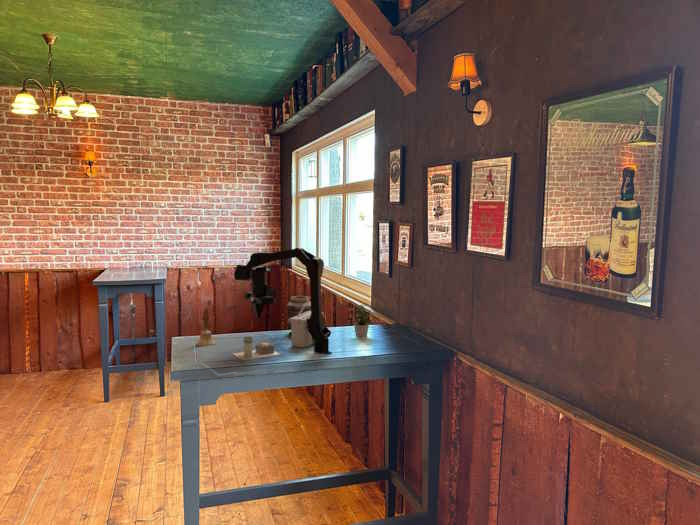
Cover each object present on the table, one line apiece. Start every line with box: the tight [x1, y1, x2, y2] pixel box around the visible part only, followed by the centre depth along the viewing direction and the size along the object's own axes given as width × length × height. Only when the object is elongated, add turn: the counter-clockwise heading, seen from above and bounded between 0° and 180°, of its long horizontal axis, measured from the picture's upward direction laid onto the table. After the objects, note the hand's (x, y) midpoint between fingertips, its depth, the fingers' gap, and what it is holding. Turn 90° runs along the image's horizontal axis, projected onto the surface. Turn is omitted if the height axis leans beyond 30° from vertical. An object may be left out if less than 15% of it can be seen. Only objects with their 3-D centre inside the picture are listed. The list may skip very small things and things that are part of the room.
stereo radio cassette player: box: [289, 296, 325, 349], centre depth 231 cm, size 21×8×20 cm, turn 160°
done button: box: [259, 342, 269, 347], centre depth 214 cm, size 4×4×2 cm
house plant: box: [348, 303, 374, 339], centre depth 247 cm, size 14×14×16 cm
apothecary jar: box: [286, 295, 311, 335], centre depth 251 cm, size 12×12×18 cm
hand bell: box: [196, 307, 217, 347], centre depth 229 cm, size 8×8×16 cm
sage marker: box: [243, 335, 253, 357], centre depth 207 cm, size 3×3×8 cm
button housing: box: [255, 342, 275, 355], centre depth 214 cm, size 6×6×3 cm
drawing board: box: [232, 349, 280, 361], centre depth 211 cm, size 11×16×1 cm
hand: (258, 317), depth 223 cm, fingers closed
